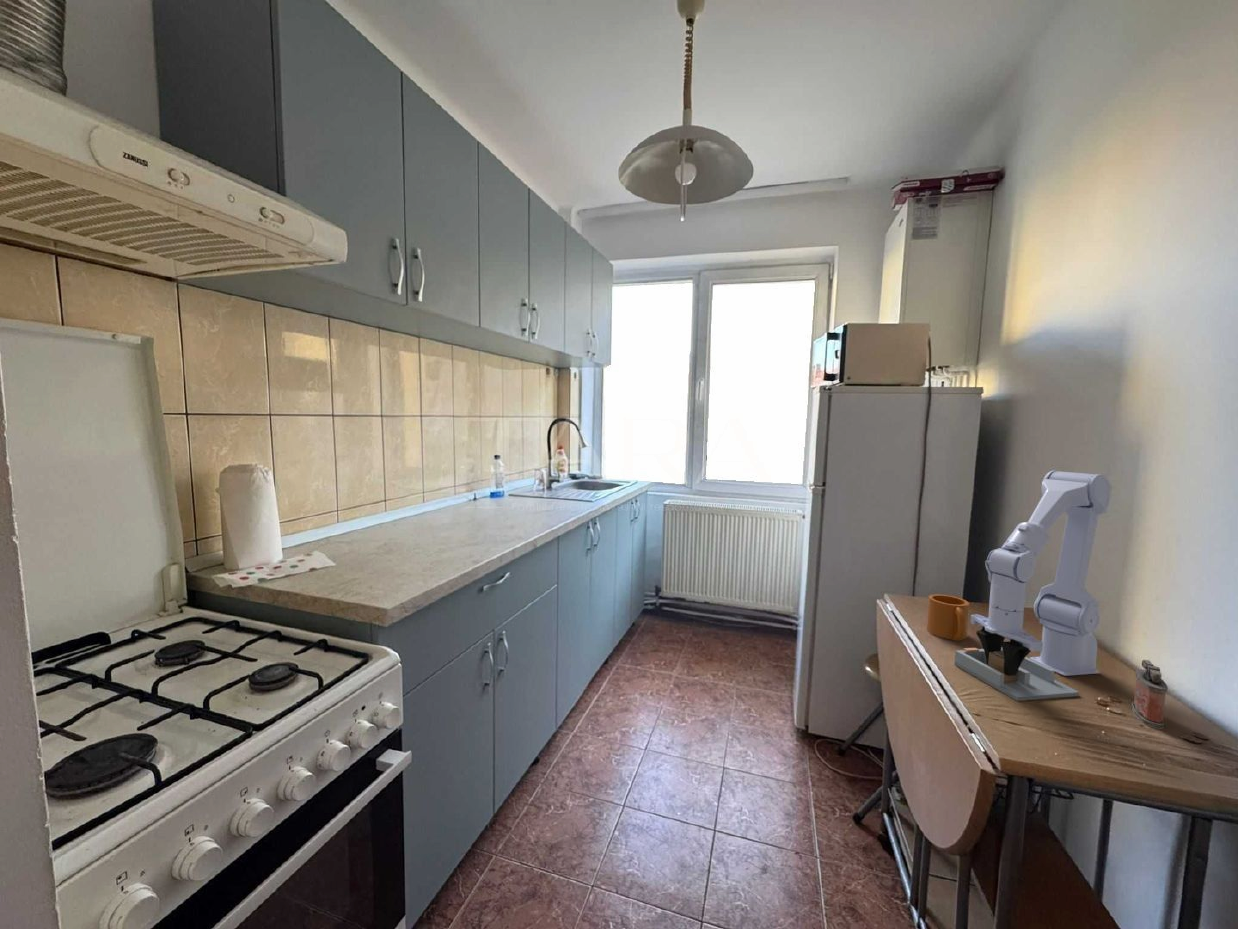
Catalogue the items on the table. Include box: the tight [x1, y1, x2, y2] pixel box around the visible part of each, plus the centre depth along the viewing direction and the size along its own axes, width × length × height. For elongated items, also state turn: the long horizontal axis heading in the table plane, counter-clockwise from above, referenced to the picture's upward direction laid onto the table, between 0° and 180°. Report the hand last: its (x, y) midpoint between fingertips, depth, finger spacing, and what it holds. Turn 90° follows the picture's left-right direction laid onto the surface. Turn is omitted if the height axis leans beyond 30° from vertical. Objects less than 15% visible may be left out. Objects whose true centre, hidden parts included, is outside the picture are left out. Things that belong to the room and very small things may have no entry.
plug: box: [988, 651, 1018, 683], centre depth 106 cm, size 4×4×5 cm
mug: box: [926, 594, 970, 642], centre depth 129 cm, size 9×12×9 cm
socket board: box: [954, 647, 1080, 702], centre depth 107 cm, size 14×15×4 cm
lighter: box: [1131, 659, 1168, 730], centre depth 93 cm, size 8×3×10 cm, turn 148°
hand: (1001, 670), depth 106 cm, fingers closed on plug, 3 cm apart
